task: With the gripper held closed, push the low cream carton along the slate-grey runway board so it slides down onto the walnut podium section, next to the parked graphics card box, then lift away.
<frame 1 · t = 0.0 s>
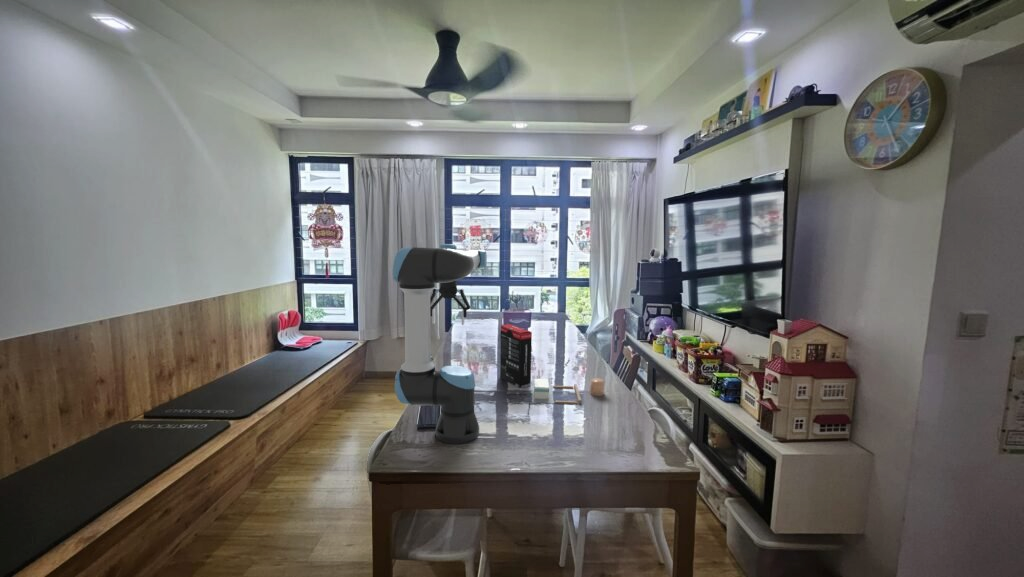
hand: (448, 323, 190), 28 cm above the table, fingers open, 13 cm apart
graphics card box: (514, 385, 192), on the table
carton: (541, 394, 177), point 1 cm above the table, touching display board
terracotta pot: (596, 393, 183), on the table
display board: (555, 398, 177), on the table
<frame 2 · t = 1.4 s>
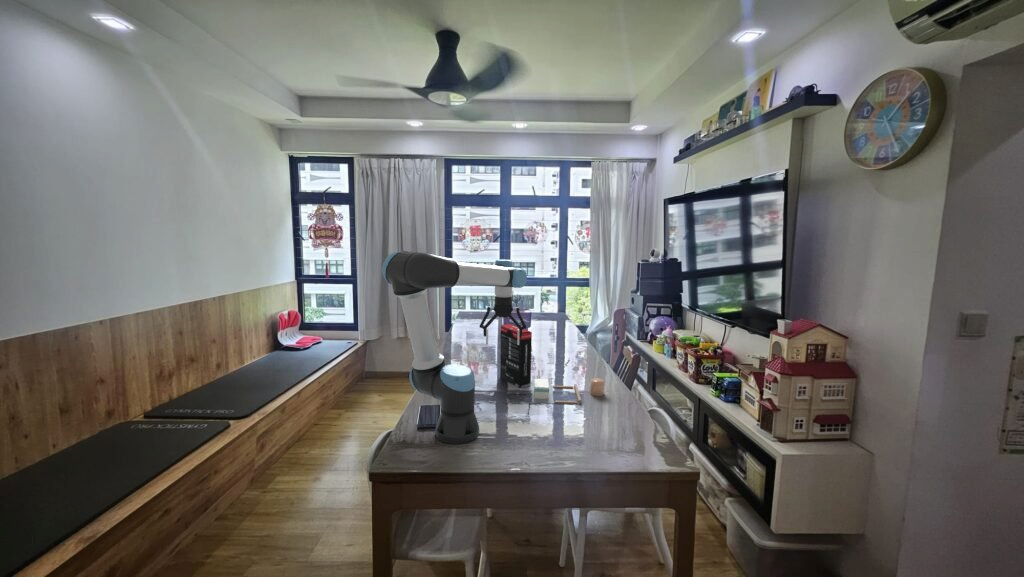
hand: (502, 344, 179), 22 cm above the table, fingers open, 13 cm apart
nothing on the table moved.
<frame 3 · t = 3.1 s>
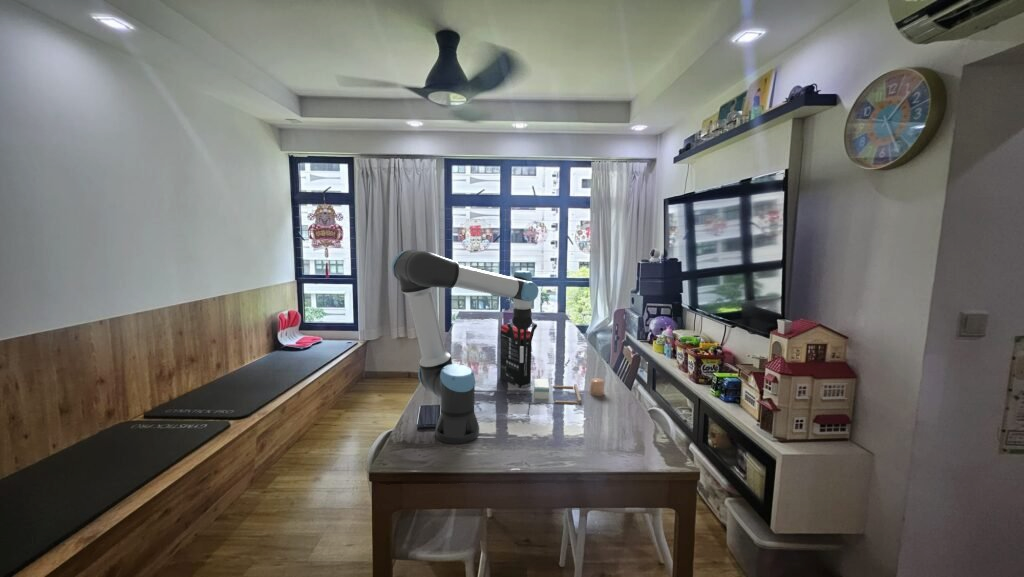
hand: (521, 361, 176), 16 cm above the table, fingers closed
nothing on the table moved.
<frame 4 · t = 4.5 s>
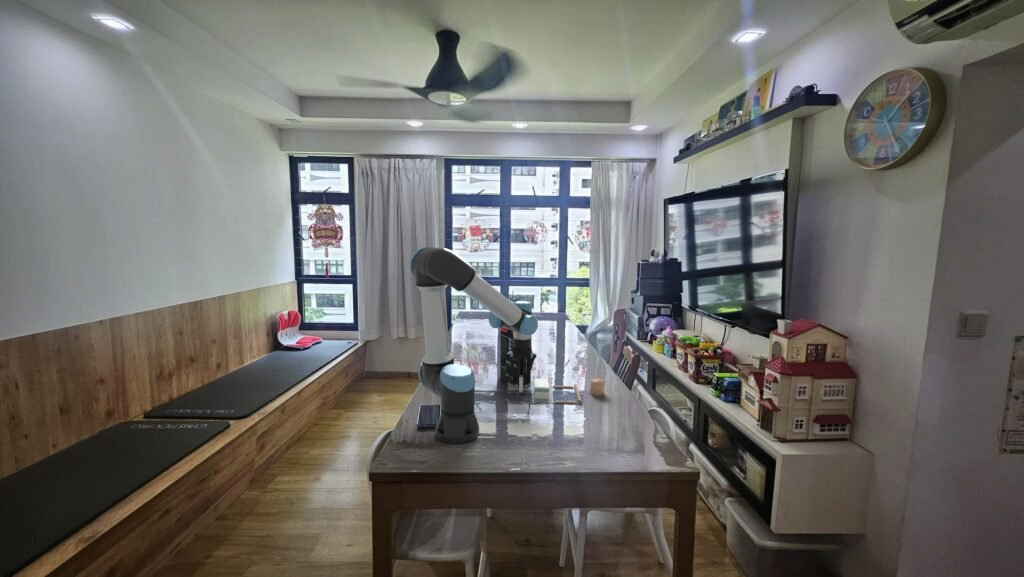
hand: (520, 390, 178), 3 cm above the table, fingers closed
nothing on the table moved.
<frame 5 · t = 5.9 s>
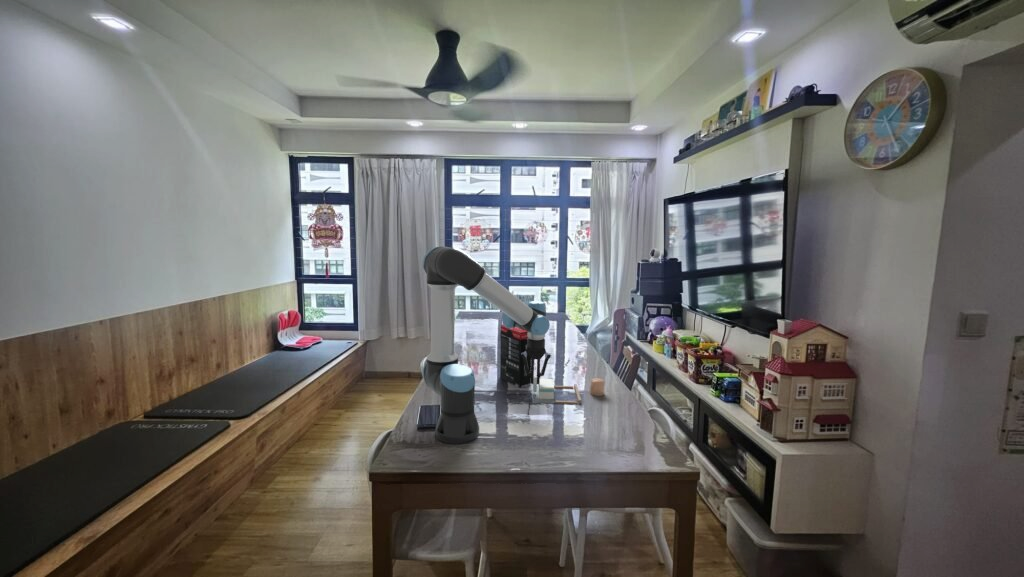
hand: (534, 390, 177), 3 cm above the table, fingers closed
carton: (546, 394, 177), point 2 cm above the table, touching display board
everything else where it was.
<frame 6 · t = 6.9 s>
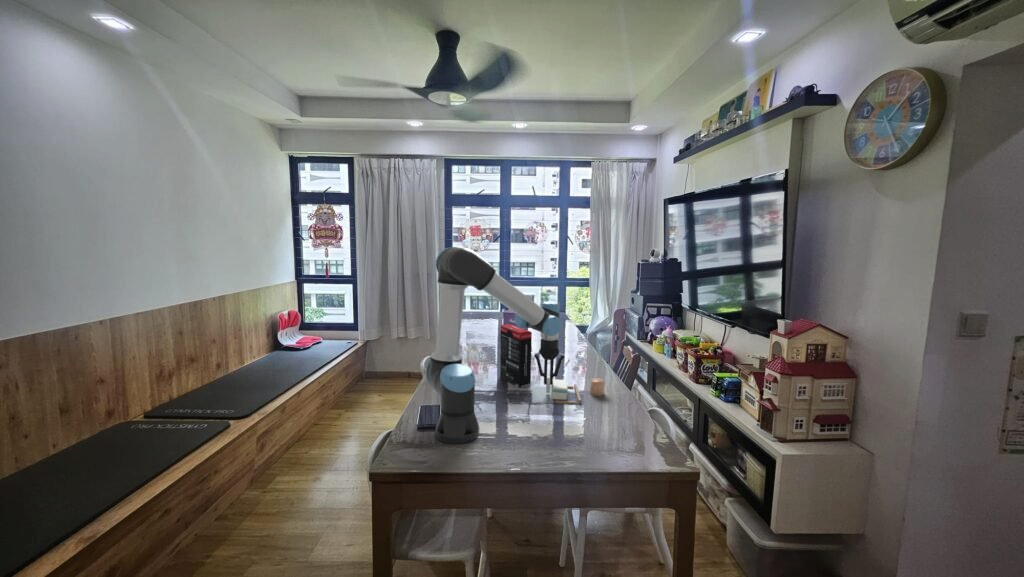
hand: (548, 391, 177), 3 cm above the table, fingers closed
carton: (558, 394, 177), point 1 cm above the table, touching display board, gripper
everything else where it was.
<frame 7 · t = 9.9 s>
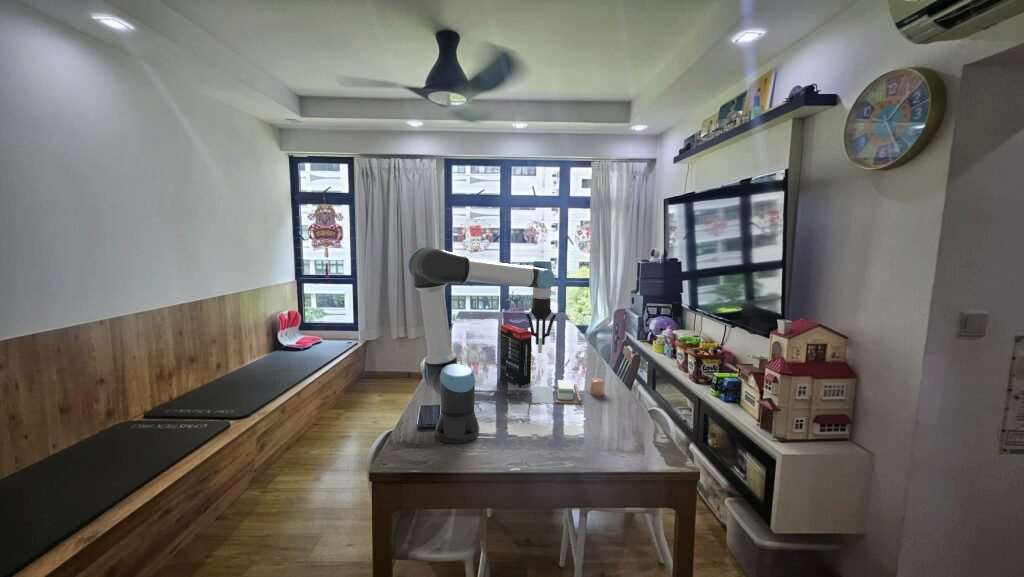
hand: (539, 351, 175), 20 cm above the table, fingers closed
carton: (564, 395, 177), point 1 cm above the table, touching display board
everything else where it was.
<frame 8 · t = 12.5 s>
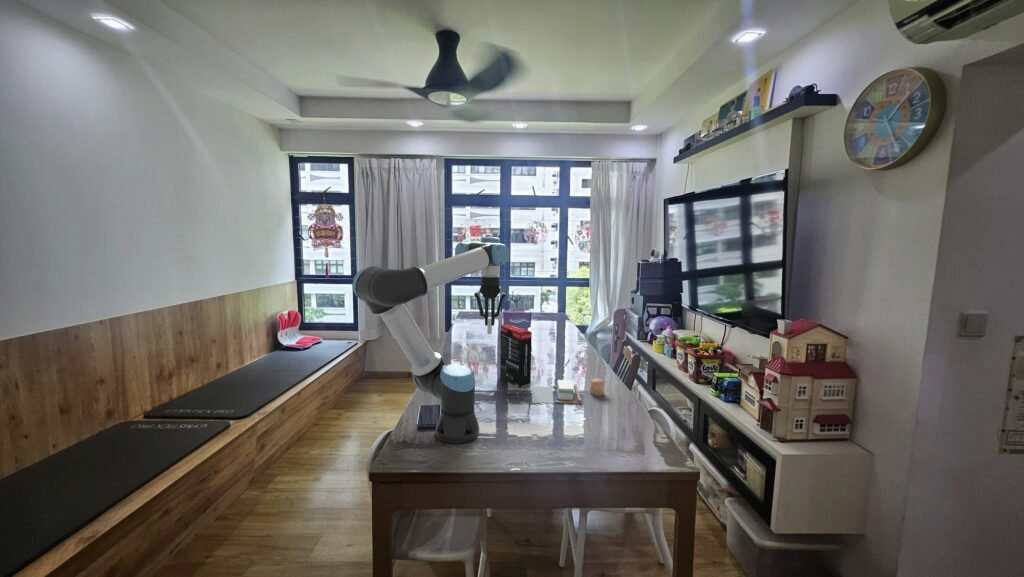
hand: (489, 333, 168), 29 cm above the table, fingers closed
nothing on the table moved.
at the end: carton inside the target area (0.3 cm from its centre), point 1.2 cm above the table; carton tilted 0°; carton moved 10.2 cm from its start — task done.
